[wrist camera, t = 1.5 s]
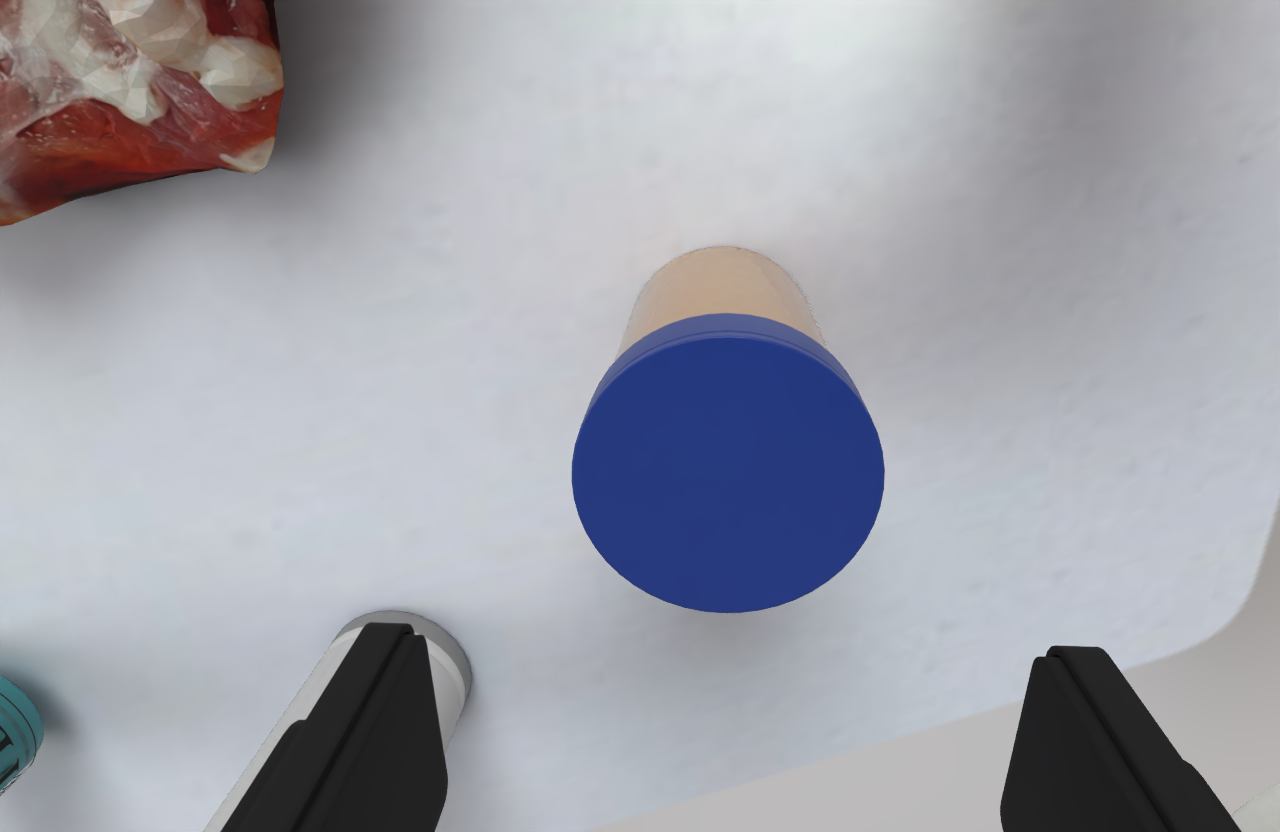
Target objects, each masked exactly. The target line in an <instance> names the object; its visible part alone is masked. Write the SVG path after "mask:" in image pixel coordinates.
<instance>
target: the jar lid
mask: <svg viewBox="0 0 1280 832" xmlns="http://www.w3.org/2000/svg"><path fill="white" fill-rule="evenodd" d="M884 473H885V469H884V460H883V451H882V447H881V444H880V440H879V436H878V433H877V430H876V428H875V426H874V424H873V421H872V419H871V417H870V414H869V412H868V410H867V408H866V406H865V404H864V402H863V400H862V398H861V396H860V394H859V392H858V390H857V388H856V386H855V384H854V383H853V381H852V380H851V378H850V376H849V375H848V373H847V371H846V370H845V369H844V368H843V367H842V365H841V364H840V363H839V362H838V361H837V359H836V358H835V357H834V356H833V355H832V354H831V353H829V352H828V351H827V350H826V349H825V348H824V347H823V346H822V345H820V344H819V343H818V342H816V341H815V340H813V339H812V338H810V337H809V336H807V335H806V334H804V333H802V332H800V331H798V330H796V329H794V328H792V327H790V326H788V325H786V324H783V323H780V322H777V321H774V320H771V319H768V318H764V317H759V316H754V315H749V314H736V313H718V314H705V315H700V316H695V317H689V318H686V319H683V320H679V321H676V322H673V323H670V324H668V325H666V326H664V327H661V328H659V329H657V330H655V331H653V332H651V333H649V334H648V335H646V336H645V337H643V338H642V339H640V340H639V341H637V342H636V343H634V344H633V345H632V346H631V347H630V348H628V349H627V350H626V351H625V352H624V353H623V354H621V356H620V357H619V358H618V359H617V360H616V361H615V362H614V363H613V364H612V366H611V367H610V368H609V369H608V371H607V372H606V374H605V375H604V377H603V378H602V380H601V381H600V383H599V385H598V387H597V389H596V391H595V393H594V395H593V397H592V399H591V402H590V404H589V407H588V409H587V412H586V415H585V417H584V420H583V423H582V425H581V428H580V431H579V434H578V437H577V440H576V443H575V448H574V454H573V460H572V487H573V495H574V500H575V504H576V508H577V511H578V515H579V517H580V520H581V522H582V524H583V527H584V529H585V531H586V533H587V535H588V536H589V538H590V540H591V541H592V543H593V545H594V546H595V548H596V549H597V550H598V552H599V553H600V554H601V555H602V557H603V558H604V559H605V560H606V562H607V563H608V564H610V565H611V566H612V567H613V568H614V569H615V570H616V571H617V572H618V573H619V574H620V575H621V576H623V577H624V578H625V579H627V580H628V581H629V582H630V583H632V584H633V585H635V586H636V587H638V588H640V589H641V590H643V591H645V592H646V593H648V594H650V595H652V596H654V597H657V598H659V599H661V600H663V601H666V602H669V603H672V604H675V605H678V606H681V607H684V608H689V609H694V610H699V611H706V612H716V613H742V612H750V611H758V610H763V609H767V608H771V607H775V606H779V605H782V604H785V603H787V602H790V601H793V600H796V599H798V598H800V597H802V596H804V595H806V594H808V593H810V592H812V591H814V590H815V589H817V588H818V587H820V586H821V585H823V584H824V583H826V582H827V581H829V580H830V579H831V578H832V577H834V576H835V575H836V574H837V573H838V572H840V571H841V570H842V569H843V568H844V567H845V566H846V565H847V564H848V563H849V561H850V560H851V559H852V558H853V557H854V556H855V555H856V553H857V552H858V551H859V549H860V548H861V546H862V545H863V544H864V542H865V541H866V539H867V537H868V535H869V533H870V531H871V529H872V527H873V525H874V523H875V520H876V517H877V515H878V512H879V509H880V506H881V501H882V495H883V490H884Z"/></svg>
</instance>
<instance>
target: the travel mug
mask: <svg viewBox="0 0 1280 832" xmlns="http://www.w3.org/2000/svg"><path fill="white" fill-rule="evenodd" d="M370 622H381V623H408V624H411V626H412V627H413V629H414V633H415V634H416V635H424V637H425V638H426V642H427V647H428V653H429V660H430V666H431V673H432V679H433V686H434V692H435V698H436V705H437V711H438V718H439V724H440V731H441V737H442V743H443V750H444V754H445V752H446V749H447V747H448V744H449V742H450V739H451V737H452V735H453V732H454V730H455V727H456V725H457V721H458V718H459V716H460V715H461V712H462V710H463V707H464V705H465V702H466V700H467V697H468V694H469V691H470V687H471V671H470V667H469V663H468V660H467V658H466V656H465V654H464V652H463V650H462V649H461V647H460V646H459V644H458V643H457V642H456V640H455V639H454V638H453V637H452V636H451V635H449V634H448V633H447V632H446V631H445V630H444V629H442V628H441V627H439V626H438V625H436V624H435V623H433V622H431V621H429V620H427V619H425V618H423V617H420V616H417V615H414V614H410V613H406V612H399V611H379V612H374V613H369V614H365V615H363V616H360V617H358V618H356V619H354V620H352V621H351V622H350V623H348V624H347V625H346V626H344V628H343V629H342V630H341V631H340V632H339V634H338V635H337V636H336V638H335V639H334V641H333V642H332V644H331V645H330V647H329V648H328V649H327V651H326V652H325V654H324V656H323V658H322V659H321V660H320V661H319V663H318V664H317V666H316V667H315V668H314V670H313V671H312V673H311V674H310V676H309V677H308V679H307V680H306V682H305V683H304V685H303V686H302V687H301V689H300V690H299V692H298V693H297V695H296V696H295V698H294V699H293V701H292V702H291V704H290V705H289V706H288V708H287V709H286V711H285V712H284V714H283V715H282V717H281V718H280V720H279V721H278V723H277V724H276V725H275V727H274V728H273V730H272V731H271V733H270V734H269V736H268V737H267V739H266V740H265V742H264V743H263V744H262V746H261V747H260V749H259V750H258V752H257V753H256V755H255V756H254V758H253V759H252V760H251V762H250V763H249V765H248V766H247V768H246V769H245V771H244V772H243V774H242V775H241V777H240V778H239V779H238V781H237V782H236V784H235V785H234V787H233V788H232V790H231V791H230V793H229V794H228V796H227V797H226V798H225V800H224V801H223V803H222V804H221V806H220V807H219V809H218V810H217V812H216V813H215V815H214V816H213V817H212V819H211V820H210V822H209V823H208V825H207V826H206V828H205V829H204V831H203V832H220V831H221V830H222V828H223V827H224V825H225V824H226V822H227V821H228V819H229V817H230V816H231V814H232V813H233V811H234V810H235V808H236V807H237V805H238V804H239V802H240V800H241V799H242V797H243V796H244V794H245V793H246V791H247V790H248V788H249V786H250V785H251V783H252V782H253V780H254V779H255V777H256V776H257V774H258V772H259V771H260V769H261V768H262V766H263V765H264V763H265V762H266V760H267V758H268V757H269V755H270V754H271V752H272V751H273V749H274V748H275V746H276V744H277V743H278V741H279V740H280V738H281V737H282V735H283V734H284V733H285V731H286V730H287V729H288V728H289V726H290V725H291V724H293V723H294V722H296V721H297V720H306V718H307V717H308V715H309V714H310V712H311V710H312V709H313V707H314V706H315V704H316V702H317V701H318V699H319V698H320V696H321V694H322V693H323V691H324V690H325V688H326V686H327V685H328V683H329V681H330V680H331V678H332V677H333V675H334V673H335V672H336V670H337V669H338V667H339V665H340V664H341V662H342V661H343V659H344V657H345V656H346V654H347V653H348V651H349V649H350V648H351V646H352V645H353V643H354V641H355V640H356V638H357V637H358V635H359V633H360V632H361V630H362V629H363V627H364V626H365V625H366V624H367V623H370Z"/></svg>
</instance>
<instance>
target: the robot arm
mask: <svg viewBox="0 0 1280 832" xmlns="http://www.w3.org/2000/svg"><path fill="white" fill-rule="evenodd" d="M447 787H448V777H447V769H446V763H445V756H444V750H443V743H442V737H441V731H440V724H439V718H438V711H437V705H436V698H435V692H434V686H433V679H432V673H431V666H430V660H429V653H428V647H427V642H426V638H425V637H424V635H416V634H415V633H414V629H413V627H412V626H411V624H408V623H381V622H370V623H367V624H366V625H365V626H364V627H363V629H362V630H361V632H360V633H359V635H358V637H357V638H356V640H355V641H354V643H353V645H352V646H351V648H350V649H349V651H348V653H347V654H346V656H345V657H344V659H343V661H342V662H341V664H340V665H339V667H338V669H337V670H336V672H335V673H334V675H333V677H332V678H331V680H330V681H329V683H328V685H327V686H326V688H325V690H324V691H323V693H322V694H321V696H320V698H319V699H318V701H317V702H316V704H315V706H314V707H313V709H312V710H311V712H310V714H309V715H308V717H307V718H306V720H297V721H296V722H294V723H293V724H291V725H290V726H289V728H288V729H287V730H286V731H285V733H284V734H283V735H282V737H281V738H280V740H279V741H278V743H277V744H276V746H275V748H274V749H273V751H272V752H271V754H270V755H269V757H268V758H267V760H266V762H265V763H264V765H263V766H262V768H261V769H260V771H259V772H258V774H257V776H256V777H255V779H254V780H253V782H252V783H251V785H250V786H249V788H248V790H247V791H246V793H245V794H244V796H243V797H242V799H241V800H240V802H239V804H238V805H237V807H236V808H235V810H234V811H233V813H232V814H231V816H230V817H229V819H228V821H227V822H226V824H225V825H224V827H223V828H222V830H221V831H220V832H435V829H436V826H437V824H438V821H439V818H440V815H441V812H442V810H443V807H444V803H445V800H446V795H447ZM1000 815H1001V823H1002V828H1003V831H1004V832H1242V831H1241V830H1240V828H1239V827H1238V826H1237V824H1236V823H1235V821H1234V820H1233V819H1232V817H1231V816H1230V814H1229V813H1228V812H1227V810H1226V809H1225V807H1224V806H1223V805H1222V803H1221V802H1220V801H1219V799H1218V798H1217V796H1216V795H1215V794H1214V792H1213V791H1212V789H1211V788H1210V787H1209V785H1208V784H1207V782H1206V781H1205V780H1204V778H1203V777H1202V776H1201V775H1200V774H1199V772H1198V771H1197V770H1196V769H1195V768H1194V767H1193V766H1192V765H1191V764H1189V763H1188V762H1186V761H1184V760H1183V759H1182V758H1181V756H1180V755H1179V754H1178V752H1177V751H1176V749H1175V748H1174V747H1173V745H1172V744H1171V742H1170V741H1169V740H1168V738H1167V737H1166V735H1165V734H1164V732H1163V731H1162V730H1161V728H1160V727H1159V725H1158V724H1157V723H1156V722H1155V720H1154V718H1153V717H1152V716H1151V714H1150V713H1149V711H1148V710H1147V708H1146V707H1145V706H1144V704H1143V703H1142V702H1141V700H1140V699H1139V697H1138V696H1137V694H1136V693H1135V692H1134V690H1133V689H1132V687H1131V686H1130V685H1129V683H1128V682H1127V681H1126V679H1125V677H1124V676H1123V675H1122V673H1121V672H1120V670H1119V669H1118V668H1117V666H1116V665H1115V663H1114V662H1113V660H1112V659H1111V658H1110V656H1109V655H1108V654H1107V653H1106V652H1105V651H1104V650H1103V649H1101V648H1099V647H1081V646H1052V647H1050V649H1049V650H1048V651H1047V654H1046V657H1036V659H1035V660H1034V662H1033V665H1032V669H1031V673H1030V677H1029V682H1028V686H1027V691H1026V695H1025V699H1024V704H1023V708H1022V712H1021V717H1020V721H1019V726H1018V730H1017V734H1016V739H1015V743H1014V747H1013V752H1012V756H1011V760H1010V765H1009V769H1008V773H1007V778H1006V783H1005V787H1004V791H1003V795H1002V800H1001V806H1000Z"/></svg>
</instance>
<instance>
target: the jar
mask: <svg viewBox="0 0 1280 832" xmlns="http://www.w3.org/2000/svg"><path fill="white" fill-rule="evenodd" d="M718 313H736V314H749V315H754V316H759V317H764V318H768V319H771V320H774V321H777V322H780V323H783V324H786V325H788V326H790V327H792V328H794V329H796V330H798V331H800V332H802V333H804V334H806V335H807V336H809V337H810V338H812V339H813V340H815V341H816V342H818V343H819V344H820V345H822V346H823V347H824V348H825V349H826V350H827V351H828V348H827V346H826V344H825V342H824V340H823V337H822V335H821V333H820V331H819V328H818V326H817V324H816V322H815V320H814V317H813V315H812V313H811V311H810V309H809V306H808V304H807V302H806V300H805V297H804V295H803V293H802V292H801V290H800V288H799V287H798V285H797V284H796V282H795V281H794V280H793V279H792V278H791V276H790V275H789V274H788V273H787V272H786V271H784V270H783V269H782V268H781V267H780V266H779V265H777V264H776V263H774V262H773V261H771V260H770V259H768V258H766V257H764V256H762V255H760V254H758V253H755V252H752V251H749V250H745V249H740V248H735V247H709V248H704V249H699V250H695V251H692V252H689V253H686V254H684V255H682V256H680V257H678V258H676V259H674V260H672V261H671V262H669V263H668V264H666V265H665V266H664V267H662V268H661V269H660V270H659V271H658V272H657V273H656V274H654V276H653V277H652V278H651V279H650V280H649V281H648V282H647V284H646V285H645V287H644V288H643V290H642V291H641V293H640V295H639V297H638V299H637V301H636V303H635V305H634V308H633V311H632V314H631V317H630V320H629V322H628V325H627V328H626V331H625V334H624V337H623V339H622V342H621V345H620V348H619V351H618V354H617V357H616V359H615V361H616V360H617V359H618V358H619V357H620V356H621V354H623V353H624V352H625V351H626V350H627V349H628V348H630V347H631V346H632V345H633V344H634V343H636V342H637V341H639V340H640V339H642V338H643V337H645V336H646V335H648V334H649V333H651V332H653V331H655V330H657V329H659V328H661V327H664V326H666V325H668V324H670V323H673V322H676V321H679V320H683V319H686V318H689V317H695V316H700V315H705V314H718ZM828 352H829V351H828Z"/></svg>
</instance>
